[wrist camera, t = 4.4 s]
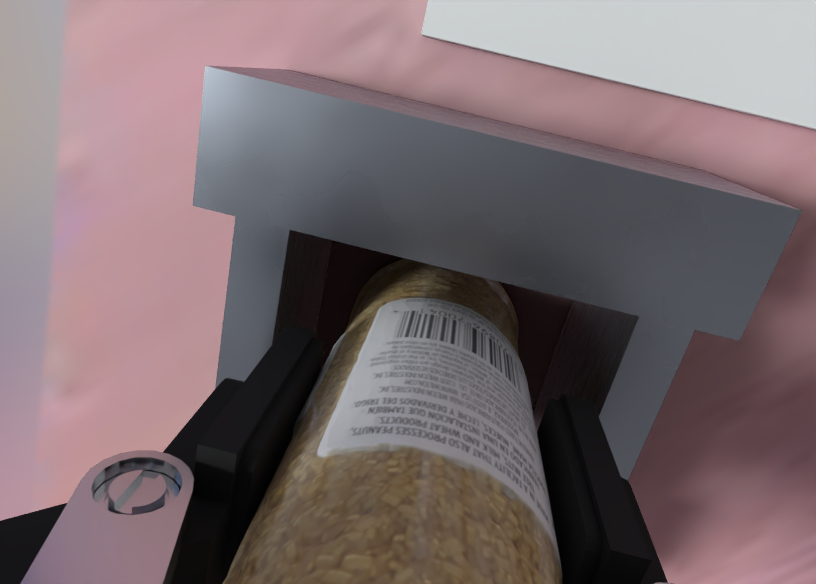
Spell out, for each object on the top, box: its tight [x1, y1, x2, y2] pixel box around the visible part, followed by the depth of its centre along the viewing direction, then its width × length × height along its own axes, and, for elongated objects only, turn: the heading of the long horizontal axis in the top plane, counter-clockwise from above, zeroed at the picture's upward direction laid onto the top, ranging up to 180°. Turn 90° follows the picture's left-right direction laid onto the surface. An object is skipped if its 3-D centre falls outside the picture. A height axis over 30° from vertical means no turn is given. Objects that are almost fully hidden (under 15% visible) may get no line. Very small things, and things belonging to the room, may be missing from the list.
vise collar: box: [193, 66, 802, 481], centre depth 14 cm, size 10×11×4 cm
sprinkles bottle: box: [223, 258, 562, 584], centre depth 9 cm, size 5×5×13 cm
